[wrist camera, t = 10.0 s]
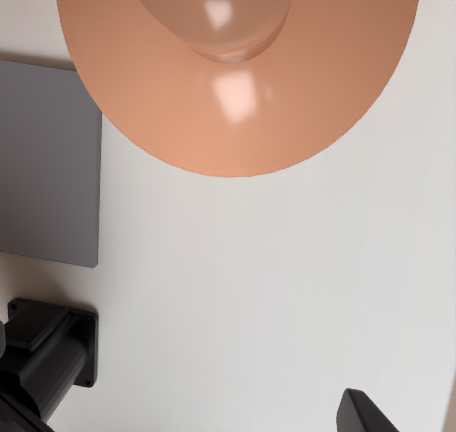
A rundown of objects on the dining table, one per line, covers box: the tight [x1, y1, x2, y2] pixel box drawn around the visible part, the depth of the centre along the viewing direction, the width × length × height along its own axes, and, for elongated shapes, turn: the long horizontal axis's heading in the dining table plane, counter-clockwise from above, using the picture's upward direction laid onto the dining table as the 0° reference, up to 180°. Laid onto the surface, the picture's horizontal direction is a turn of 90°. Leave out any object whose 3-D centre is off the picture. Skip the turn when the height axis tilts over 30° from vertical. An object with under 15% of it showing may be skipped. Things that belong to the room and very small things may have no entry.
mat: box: [0, 60, 102, 268], centre depth 21 cm, size 12×12×1 cm
